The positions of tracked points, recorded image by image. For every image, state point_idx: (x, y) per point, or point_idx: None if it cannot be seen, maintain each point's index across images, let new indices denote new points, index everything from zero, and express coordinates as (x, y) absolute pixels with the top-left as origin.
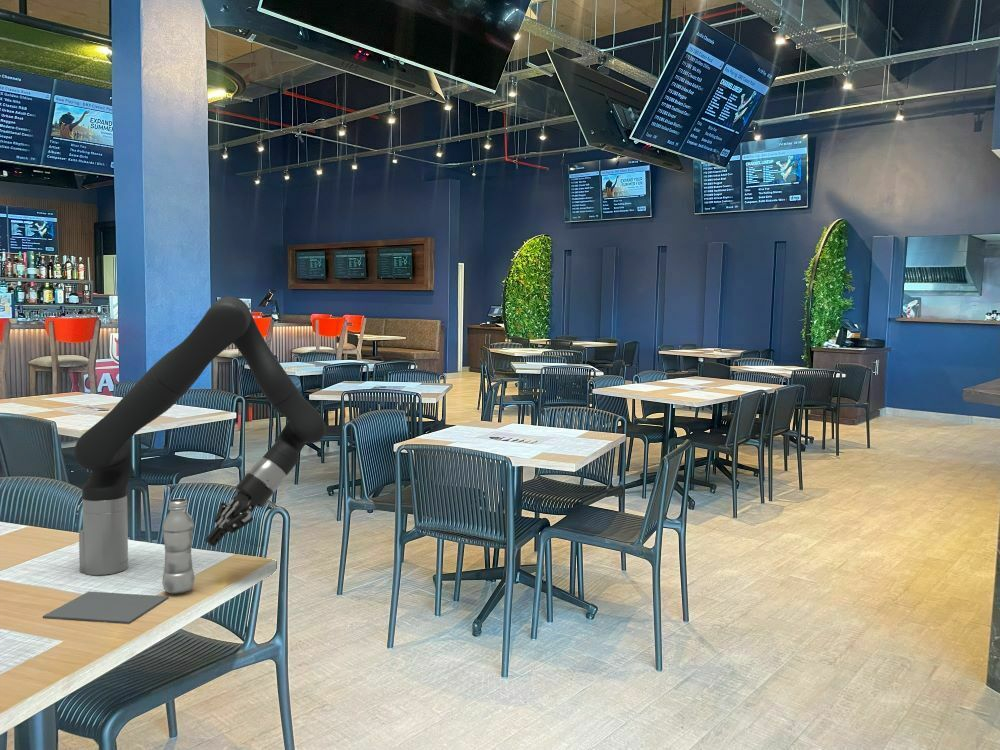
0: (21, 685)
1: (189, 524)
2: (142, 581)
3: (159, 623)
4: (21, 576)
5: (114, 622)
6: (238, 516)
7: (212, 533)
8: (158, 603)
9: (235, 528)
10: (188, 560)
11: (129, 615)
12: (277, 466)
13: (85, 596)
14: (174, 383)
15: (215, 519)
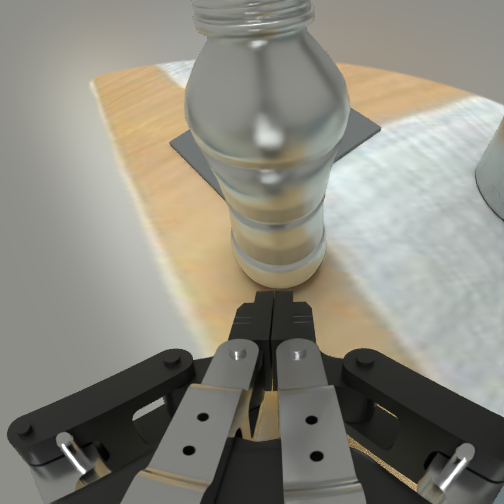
0: (116, 75)
1: (187, 116)
2: (412, 217)
3: (132, 179)
4: (493, 108)
5: None
6: (68, 414)
7: (268, 312)
8: (221, 195)
9: (158, 416)
10: (233, 223)
11: (196, 145)
12: None
13: (354, 118)
14: None
15: (368, 356)
